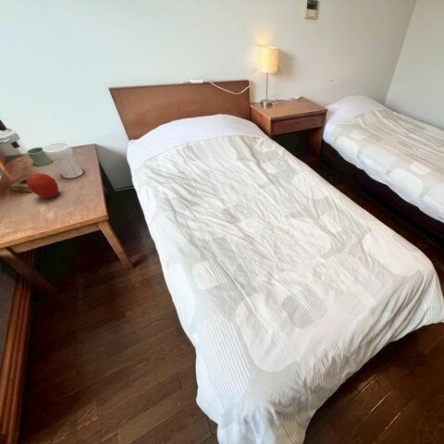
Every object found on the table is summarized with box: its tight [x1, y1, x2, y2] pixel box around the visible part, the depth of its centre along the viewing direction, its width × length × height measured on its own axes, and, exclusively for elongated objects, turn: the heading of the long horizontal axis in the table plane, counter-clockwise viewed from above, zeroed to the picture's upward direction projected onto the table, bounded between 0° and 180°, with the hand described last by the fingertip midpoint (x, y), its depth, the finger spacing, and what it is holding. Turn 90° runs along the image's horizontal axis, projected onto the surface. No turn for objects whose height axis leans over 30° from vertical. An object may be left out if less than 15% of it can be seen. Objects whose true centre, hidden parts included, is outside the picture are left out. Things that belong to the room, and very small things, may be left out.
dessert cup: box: [26, 146, 53, 167], centre depth 147 cm, size 8×8×8 cm
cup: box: [42, 141, 84, 180], centre depth 137 cm, size 11×11×17 cm
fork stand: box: [10, 176, 33, 193], centre depth 130 cm, size 8×8×4 cm
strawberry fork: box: [0, 119, 21, 149], centre depth 122 cm, size 4×4×20 cm
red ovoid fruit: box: [27, 173, 59, 199], centre depth 123 cm, size 10×10×14 cm
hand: (5, 129), depth 123 cm, fingers closed on strawberry fork, 2 cm apart
